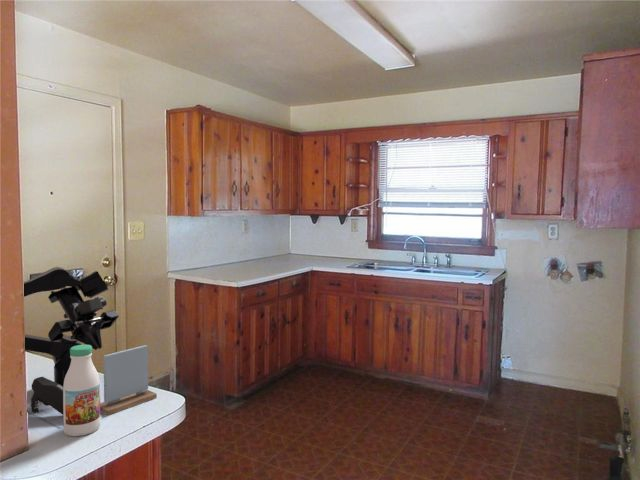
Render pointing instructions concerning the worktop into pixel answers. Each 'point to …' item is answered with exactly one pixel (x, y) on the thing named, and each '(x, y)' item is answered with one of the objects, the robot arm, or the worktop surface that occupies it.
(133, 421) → the worktop surface
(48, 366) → the worktop surface
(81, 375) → the milk bottle
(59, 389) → the gun
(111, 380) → the flap door
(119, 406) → the board
